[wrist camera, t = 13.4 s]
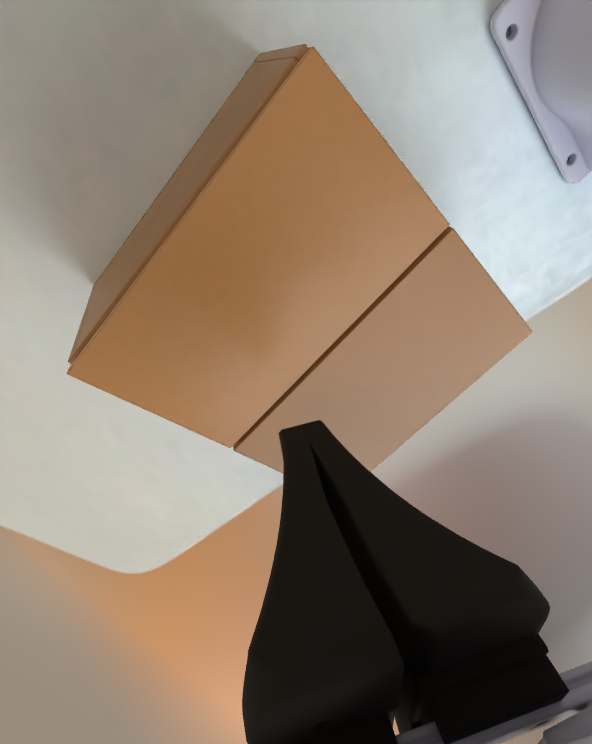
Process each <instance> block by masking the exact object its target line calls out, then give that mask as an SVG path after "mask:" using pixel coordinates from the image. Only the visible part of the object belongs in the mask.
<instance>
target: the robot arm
mask: <svg viewBox="0 0 592 744" xmlns="http://www.w3.org/2000/svg"><path fill="white" fill-rule="evenodd" d="M509 26H511V30H512V31H511V35H510V37H509V38H508V39H507V38H506V31H507V29H508V27H509ZM490 31H491V34H492V36H493V38H494V40H495V42H496V44H497V46H498V48H499V50H500V52H501V54H502V56H503V58H504V60H505V62H506V64H507V66H508V68H509V70H510V72H511V74H512V76H513V78H514V80H515V82H516V84H517V86H518V88H519V90H520V92H521V94H522V96H523V98H524V100H525V102H526V104H527V106H528V108H529V110H530V112H531V114H532V116H533V118H534V120H535V122H536V124H537V126H538V128H539V130H540V132H541V134H542V136H543V138H544V140H545V142H546V144H547V146H548V148H549V150H550V152H551V154H552V156H553V158H554V160H555V162H556V164H557V166H558V168H559V170H560V172H561V174H562V176H563V178H564V180H565V181H566V183H570V184H576V183H578V182H580V181H581V180H582V179H583V178H584V177H585V176H586V175H587V174H588V173H589V172H590V171H592V0H504V1H503V2H502V3H501V4H500V6H499V7H498V8H497V9H496V10H495V12H494V13H493V15H492V17H491V21H490ZM569 155H570V159H569V160H568V162H566V161H567V158H568V157H569ZM279 439H280V444H281V450H282V456H283V464H284V475H283V498H282V499H283V500H282V511H281V519H280V527H279V533H278V540H277V546H276V551H275V556H274V561H273V566H272V570H271V575H270V579H269V583H268V587H267V591H266V594H265V598H264V602H263V605H262V609H261V612H260V616H259V619H258V622H257V625H256V629H255V632H254V634H253V637H252V641H251V644H250V647H249V650H248V659H247V665H246V671H245V679H244V687H243V698H242V710H243V720H244V727H245V733H246V741H247V743H248V744H501V743H503V742H506V741H508V740H511V739H513V738H516V737H518V736H521V735H523V734H526V733H528V732H531V731H533V730H536V729H539V728H541V727H544V726H546V725H549V724H551V723H554V722H556V721H559V720H561V719H564V718H566V717H569V716H571V715H573V716H571V717H569V718H568V719H566V720H564V721H562V722H560V723H558V724H557V725H554V726H553V727H551V728H549V729H547V730H545V731H544V732H543V738H542V739H541V740H540V742H539V743H538V744H592V662H589V663H586V664H583V665H581V666H578V667H576V668H573V669H570V670H568V671H565V672H562V673H560V674H558V672H557V671H556V669H555V668H554V666H553V665H552V663H551V662H550V660H549V659H548V657H547V655H546V654H547V653H548V648H547V646H546V644H545V643H544V641H543V640H542V639H541V637H540V636H539V634H538V633H539V631H540V630H541V627H542V626H543V624H544V623H545V621H546V619H547V617H548V614H549V611H550V606H549V603H548V601H547V600H546V599H545V597H544V596H543V594H542V593H541V592H540V590H539V589H538V588H537V586H536V585H535V584H534V583H533V582H532V581H531V580H530V578H529V577H528V576H527V575H526V574H525V573H524V572H523V571H522V570H521V569H520V567H519V566H518V565H516V564H514V563H512V562H510V561H508V560H506V559H503V558H501V557H499V556H497V555H495V554H493V553H491V552H489V551H487V550H485V549H483V548H481V547H479V546H477V545H475V544H474V543H472V542H470V541H468V540H466V539H465V538H463V537H461V536H459V535H457V534H456V533H454V532H453V531H451V530H449V529H447V528H446V527H444V526H443V525H441V524H439V523H438V522H436V521H435V520H433V519H431V518H430V517H428V516H427V515H425V514H424V513H422V512H421V511H419V510H418V509H416V508H415V507H413V506H412V505H411V504H409V503H408V502H407V501H405V500H404V499H402V498H401V497H400V496H398V495H397V494H396V493H395V492H393V491H392V490H391V489H390V488H388V487H387V486H386V485H385V484H384V483H382V482H381V481H380V480H379V479H378V478H377V477H375V476H374V475H373V474H372V473H371V472H370V471H369V470H368V469H366V468H365V467H364V466H363V465H362V464H361V463H360V462H359V461H358V460H357V459H356V458H355V457H354V456H353V455H352V454H351V453H350V452H349V451H348V450H347V449H346V448H345V447H344V446H343V445H342V444H341V443H340V442H339V440H338V439H337V438H336V437H335V436H334V435H333V434H332V432H331V431H330V430H329V429H328V428H327V426H326V425H325V424H324V423H323V422H322V421H321V420H317V421H313V422H309V423H305V424H301V425H297V426H293V427H289V428H286V429H282V430H281V431H280V432H279ZM576 713H577V714H576ZM574 714H575V715H574ZM394 717H395V720H396V723H397V726H398V730H399V733H400V734H398V735H396V736H395V734H394V731H393V720H394Z"/></svg>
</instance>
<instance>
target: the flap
mask: <svg viewBox="0 0 592 744" xmlns="http://www.w3.org/2000/svg"><path fill="white" fill-rule="evenodd" d="M448 226H449V223H448V222H447V220H446V219H445V218H444V216H443V215H442V214H441V212H440V211H439V210H438V209H437V207H436V206H435V205H434V203H433V202H432V201H431V199H430V198H429V197H428V196H427V194H426V193H425V192H424V190H423V189H422V188H421V186H420V185H419V184H418V182H417V181H416V180H415V179H414V177H413V176H412V175H411V173H410V172H409V171H408V169H407V168H406V167H405V165H404V164H403V163H402V162H401V160H400V159H399V158H398V156H397V155H396V154H395V152H394V151H393V150H392V148H391V147H390V146H389V145H388V143H387V142H386V141H385V139H384V138H383V137H382V135H381V134H380V133H379V132H378V130H377V129H376V128H375V126H374V125H373V124H372V122H371V121H370V120H369V118H368V117H367V116H366V115H365V113H364V112H363V111H362V109H361V108H360V107H359V105H358V104H357V103H356V101H355V100H354V99H353V98H352V96H351V95H350V94H349V92H348V91H347V90H346V88H345V87H344V86H343V85H342V83H341V82H340V81H339V79H338V78H337V77H336V75H335V74H334V73H333V71H332V70H331V69H330V68H329V66H328V65H327V64H326V62H325V61H324V60H323V58H322V57H321V56H320V54H319V53H318V52H317V51H316V49H315V48H314V47H310V48H309V49H308V50H307V52H306V53H305V54H304V56H303V57H302V58H301V60H300V61H299V62H298V64H297V65H296V66H295V68H294V69H293V70H292V72H291V73H290V74H289V76H288V77H287V78H286V80H285V81H284V82H283V84H282V85H281V86H280V88H279V89H278V90H277V92H276V93H275V94H274V96H273V97H272V98H271V100H270V101H269V102H268V104H267V105H266V106H265V108H264V109H263V110H262V112H261V113H260V114H259V116H258V117H257V118H256V120H255V121H254V122H253V124H252V125H251V126H250V128H249V129H248V130H247V132H246V133H245V134H244V136H243V137H242V138H241V140H240V141H239V142H238V144H237V145H236V146H235V148H234V149H233V150H232V152H231V153H230V154H229V156H228V157H227V158H226V160H225V161H224V162H223V164H222V165H221V166H220V168H219V169H218V170H217V172H216V173H215V174H214V176H213V177H212V178H211V180H210V181H209V182H208V184H207V185H206V186H205V188H204V189H203V190H202V192H201V193H200V194H199V196H198V197H197V198H196V200H195V201H194V202H193V204H192V205H191V206H190V208H189V209H188V210H187V212H186V213H185V214H184V216H183V217H182V218H181V219H180V221H179V222H178V223H177V225H176V226H175V227H174V229H173V230H172V231H171V233H170V234H169V235H168V237H167V238H166V239H165V241H164V242H163V243H162V245H161V246H160V247H159V249H158V250H157V251H156V253H155V254H154V255H153V257H152V258H151V259H150V261H149V262H148V263H147V265H146V266H145V267H144V269H143V270H142V271H141V273H140V274H139V275H138V277H137V278H136V279H135V281H134V282H133V283H132V285H131V286H130V287H129V289H128V290H127V291H126V293H125V294H124V295H123V297H122V298H121V299H120V301H119V302H118V303H117V305H116V306H115V307H114V309H113V310H112V311H111V313H110V314H109V315H108V317H107V318H106V319H105V321H104V322H103V323H102V325H101V326H100V327H99V329H98V330H97V331H96V333H95V334H94V335H93V337H92V338H91V339H90V341H89V342H88V343H87V345H86V346H85V347H84V349H83V350H82V351H81V353H80V354H79V355H78V357H77V358H76V359H75V361H74V362H73V363H72V365H71V366H70V367H69V369H68V372H67V374H68V375H70V376H72V377H75V378H77V379H79V380H81V381H83V382H86V383H88V384H90V385H92V386H94V387H97V388H99V389H101V390H103V391H105V392H108V393H110V394H112V395H114V396H116V397H119V398H121V399H123V400H125V401H127V402H130V403H132V404H134V405H136V406H139V407H141V408H143V409H145V410H147V411H150V412H152V413H154V414H156V415H158V416H161V417H163V418H165V419H167V420H169V421H172V422H174V423H176V424H178V425H180V426H183V427H185V428H187V429H189V430H192V431H194V432H196V433H198V434H200V435H203V436H205V437H207V438H209V439H211V440H214V441H216V442H218V443H220V444H222V445H225V446H227V447H229V448H231V447H232V446H233V445H234V444H235V443H236V442H237V441H238V440H239V439H240V438H241V437H242V436H243V435H244V434H245V433H246V432H247V431H248V430H249V429H250V428H251V427H252V426H253V425H254V424H255V423H256V422H257V421H258V420H259V419H260V418H261V417H262V416H263V415H264V414H265V412H266V411H267V410H268V409H269V408H270V407H271V406H272V405H273V404H274V403H275V402H276V401H277V400H278V399H279V398H280V397H281V396H282V395H283V394H284V393H285V392H286V391H287V390H288V389H289V388H290V387H291V386H292V385H293V384H294V383H295V382H296V381H297V380H298V379H299V378H300V377H301V376H302V375H303V374H304V373H305V372H306V371H307V370H308V369H309V368H310V367H311V366H312V365H313V364H314V363H315V362H316V361H317V360H318V358H319V357H320V356H321V355H322V354H323V353H324V352H325V351H326V350H327V349H328V348H329V347H330V346H331V345H332V344H333V343H334V342H335V341H336V340H337V339H338V338H339V337H340V336H341V335H342V334H343V333H344V332H345V331H346V330H347V329H348V328H349V327H350V326H351V325H352V324H353V323H354V322H355V321H356V320H357V319H358V318H359V317H360V316H361V315H362V314H363V313H364V312H365V311H366V310H367V309H368V308H369V307H370V306H371V304H372V303H373V302H374V301H375V300H376V299H377V298H378V297H379V296H380V295H381V294H382V293H383V292H384V291H385V290H386V289H387V288H388V287H389V286H390V285H391V284H392V283H393V282H394V281H395V280H396V279H397V278H398V277H399V276H400V275H401V274H402V273H403V272H404V271H405V270H406V269H407V268H408V267H409V266H410V265H411V264H412V263H413V262H414V261H415V260H416V259H417V258H418V257H419V256H420V255H421V254H422V253H423V252H424V250H425V249H426V248H427V247H428V246H429V245H430V244H431V243H432V242H433V241H434V240H435V239H436V238H437V237H438V236H439V235H440V234H441V233H442V232H443V231H444V230H445V229H446V228H447V227H448Z"/></svg>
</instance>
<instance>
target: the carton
mask: <svg viewBox="0 0 592 744" xmlns="http://www.w3.org/2000/svg"><path fill="white" fill-rule="evenodd" d="M308 49H309V48H308V47H307V45H305V44H303V45H298V46H293V47H289V48H284V49H279V50H275V51H270V52H265V53H261V54H259V56H258V57H257V59H256V60H255V61H254V63H253V64H252V65H251V67H250V68H249V70H248V71H247V72H246V74H245V75H244V77H243V78H242V79H241V81H240V82H239V84H238V85H237V86H236V88H235V89H234V91H233V92H232V93H231V95H230V96H229V98H228V99H227V100H226V102H225V103H224V105H223V106H222V107H221V109H220V110H219V112H218V113H217V114H216V116H215V117H214V118H213V120H212V121H211V123H210V124H209V125H208V127H207V128H206V130H205V131H204V132H203V134H202V135H201V137H200V138H199V139H198V141H197V142H196V144H195V145H194V146H193V148H192V149H191V151H190V152H189V153H188V155H187V156H186V158H185V159H184V160H183V162H182V163H181V165H180V166H179V167H178V169H177V170H176V171H175V173H174V174H173V176H172V177H171V178H170V180H169V181H168V183H167V184H166V185H165V187H164V188H163V190H162V191H161V192H160V194H159V195H158V197H157V198H156V199H155V201H154V202H153V204H152V205H151V206H150V208H149V209H148V211H147V212H146V213H145V215H144V216H143V217H142V219H141V220H140V222H139V223H138V224H137V226H136V227H135V229H134V230H133V231H132V233H131V234H130V236H129V237H128V238H127V240H126V241H125V243H124V244H123V245H122V247H121V248H120V250H119V251H118V252H117V254H116V255H115V257H114V258H113V259H112V261H111V262H110V264H109V265H108V266H107V268H106V269H105V270H104V272H103V273H102V275H101V276H100V277H99V279H98V280H97V282H96V283H95V284H94V286H93V289H92V292H91V295H90V298H89V301H88V304H87V307H86V309H85V312H84V315H83V318H82V321H81V324H80V327H79V330H78V333H77V336H76V339H75V342H74V345H73V348H72V351H71V354H70V357H69V360H68V362H69V363H71V364H72V363H73V362H74V361H75V359H76V358H77V357H78V355H79V354H80V353H81V351H82V350H83V349H84V347H85V346H86V345H87V343H88V342H89V341H90V339H91V338H92V337H93V335H94V334H95V333H96V331H97V330H98V329H99V327H100V326H101V325H102V323H103V322H104V321H105V319H106V318H107V317H108V315H109V314H110V313H111V311H112V310H113V309H114V307H115V306H116V305H117V303H118V302H119V301H120V299H121V298H122V297H123V295H124V294H125V293H126V291H127V290H128V289H129V287H130V286H131V285H132V283H133V282H134V281H135V279H136V278H137V277H138V275H139V274H140V273H141V271H142V270H143V269H144V267H145V266H146V265H147V263H148V262H149V261H150V259H151V258H152V257H153V255H154V254H155V253H156V251H157V250H158V249H159V247H160V246H161V245H162V243H163V242H164V241H165V239H166V238H167V237H168V235H169V234H170V233H171V231H172V230H173V229H174V227H175V226H176V225H177V223H178V222H179V221H180V219H181V218H182V217H183V216H184V214H185V213H186V212H187V210H188V209H189V208H190V206H191V205H192V204H193V202H194V201H195V200H196V198H197V197H198V196H199V194H200V193H201V192H202V190H203V189H204V188H205V186H206V185H207V184H208V182H209V181H210V180H211V178H212V177H213V176H214V174H215V173H216V172H217V170H218V169H219V168H220V166H221V165H222V164H223V162H224V161H225V160H226V158H227V157H228V156H229V154H230V153H231V152H232V150H233V149H234V148H235V146H236V145H237V144H238V142H239V141H240V140H241V138H242V137H243V136H244V134H245V133H246V132H247V130H248V129H249V128H250V126H251V125H252V124H253V122H254V121H255V120H256V118H257V117H258V116H259V114H260V113H261V112H262V110H263V109H264V108H265V106H266V105H267V104H268V102H269V101H270V100H271V98H272V97H273V96H274V94H275V93H276V92H277V90H278V89H279V88H280V86H281V85H282V84H283V82H284V81H285V80H286V78H287V77H288V76H289V74H290V73H291V72H292V70H293V69H294V68H295V66H296V65H297V64H298V62H299V61H300V60H301V58H302V57H303V56H304V54H305V53H306V52H307V50H308ZM531 332H532V330H531V329H530V328H529V326H528V325H527V324H526V322H525V321H524V320H523V318H522V317H521V316H520V315H519V313H518V312H517V311H516V309H515V308H514V307H513V305H512V304H511V303H510V302H509V300H508V299H507V298H506V296H505V295H504V294H503V292H502V291H501V290H500V289H499V287H498V286H497V285H496V283H495V282H494V281H493V279H492V278H491V277H490V276H489V274H488V273H487V272H486V270H485V269H484V268H483V266H482V265H481V264H480V262H479V261H478V260H477V259H476V257H475V256H474V255H473V253H472V252H471V251H470V249H469V248H468V247H467V246H466V244H465V243H464V242H463V240H462V239H461V238H460V236H459V235H458V234H457V233H456V231H455V230H454V229H453V228H451V227H447V228H446V229H445V230H444V231H443V232H442V233H441V234H440V235H439V236H438V237H437V238H436V239H435V240H434V241H433V242H432V243H431V244H430V245H429V246H428V247H427V248H426V249H425V250H424V252H423V253H422V254H421V255H420V256H419V257H418V258H417V259H416V260H415V261H414V262H413V263H412V264H411V265H410V266H409V267H408V268H407V269H406V270H405V271H404V272H403V273H402V274H401V275H400V276H399V277H398V278H397V279H396V280H395V281H394V282H393V283H392V284H391V285H390V286H389V287H388V288H387V289H386V290H385V291H384V292H383V293H382V294H381V295H380V296H379V297H378V298H377V299H376V300H375V301H374V302H373V303H372V304H371V306H370V307H369V308H368V309H367V310H366V311H365V312H364V313H363V314H362V315H361V316H360V317H359V318H358V319H357V320H356V321H355V322H354V323H353V324H352V325H351V326H350V327H349V328H348V329H347V330H346V331H345V332H344V333H343V334H342V335H341V336H340V337H339V338H338V339H337V340H336V341H335V342H334V343H333V344H332V345H331V346H330V347H329V348H328V349H327V350H326V351H325V352H324V353H323V354H322V355H321V356H320V357H319V358H318V360H317V361H316V362H315V363H314V364H313V365H312V366H311V367H310V368H309V369H308V370H307V371H306V372H305V373H304V374H303V375H302V376H301V377H300V378H299V379H298V380H297V381H296V382H295V383H294V384H293V385H292V386H291V387H290V388H289V389H288V390H287V391H286V392H285V393H284V394H283V395H282V396H281V397H280V398H279V399H278V400H277V401H276V402H275V403H274V404H273V405H272V406H271V407H270V408H269V409H268V410H267V411H266V412H265V414H264V415H263V416H262V417H261V418H260V419H259V420H258V421H257V422H256V423H255V424H254V425H253V426H252V427H251V428H250V429H249V430H248V431H247V432H246V433H245V434H244V435H243V436H242V437H241V438H240V439H239V440H238V441H237V442H236V443H235V445H234V446H233V448H234V451H236V452H238V453H240V454H242V455H244V456H247V457H249V458H251V459H253V460H255V461H258V462H260V463H262V464H264V465H266V466H268V467H271V468H273V469H275V470H277V471H279V472H281V473H284V464H283V456H282V450H281V444H280V439H279V432H280V431H281V430H282V429H286V428H289V427H293V426H297V425H301V424H305V423H309V422H313V421H317V420H321V421H322V422H323V423H324V424H325V425H326V426H327V428H328V429H329V430H330V431H331V432H332V434H333V435H334V436H335V437H336V438H337V439H338V440H339V442H340V443H341V444H342V445H343V446H344V447H345V448H346V449H347V450H348V451H349V452H350V453H351V454H352V455H353V456H354V457H355V458H356V459H357V460H358V461H359V462H360V463H361V464H362V465H363V466H364V467H365V468H366V469H368V470H369V471H370V472H371V471H372V470H373V469H374V468H376V467H377V466H378V465H379V464H380V463H381V462H383V461H384V460H385V459H386V458H387V457H388V456H389V455H391V454H392V453H393V452H394V451H395V450H396V449H398V448H399V447H400V446H401V445H402V444H403V443H405V442H406V441H407V440H408V439H409V438H410V437H411V436H413V435H414V434H415V433H416V432H417V431H418V430H420V429H421V428H422V427H423V426H424V425H425V424H426V423H428V422H429V421H430V420H431V419H432V418H433V417H435V416H436V415H437V414H438V413H439V412H440V411H441V410H443V409H444V408H445V407H446V406H447V405H448V404H450V403H451V402H452V401H453V400H454V399H455V398H456V397H458V396H459V395H460V394H461V393H462V392H463V391H465V390H466V389H467V388H468V387H469V386H470V385H472V384H473V383H474V382H475V381H476V380H477V379H479V378H480V377H481V376H482V375H483V374H484V373H485V372H487V371H488V370H489V369H490V368H491V367H492V366H494V365H495V364H496V363H497V362H498V361H499V360H500V359H502V358H503V357H504V356H505V355H506V354H507V353H509V352H510V351H511V350H512V349H513V348H514V347H516V346H517V345H518V344H519V343H520V342H521V341H522V340H524V339H525V338H526V337H527V336H528V335H529V334H531Z"/></svg>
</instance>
